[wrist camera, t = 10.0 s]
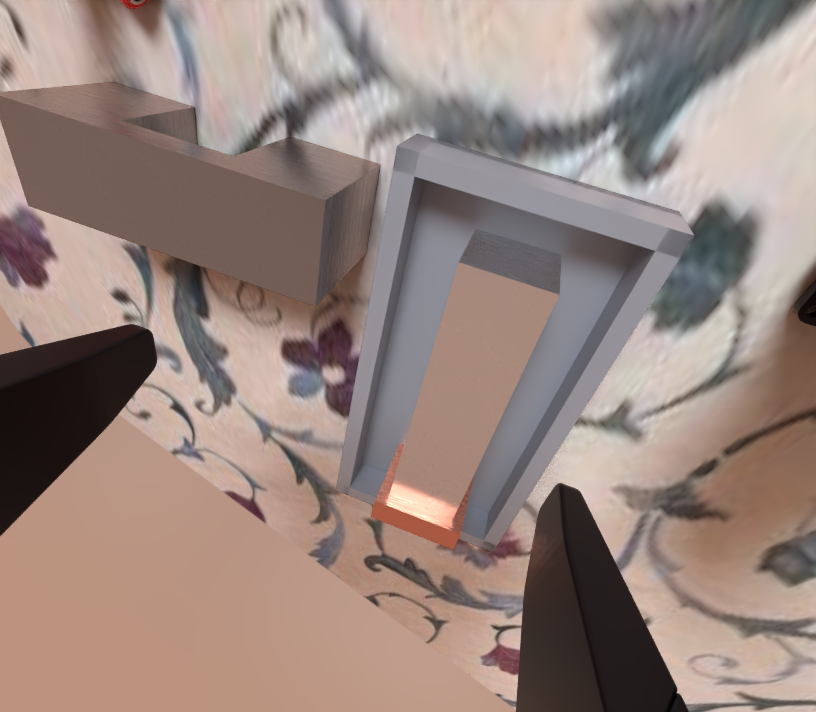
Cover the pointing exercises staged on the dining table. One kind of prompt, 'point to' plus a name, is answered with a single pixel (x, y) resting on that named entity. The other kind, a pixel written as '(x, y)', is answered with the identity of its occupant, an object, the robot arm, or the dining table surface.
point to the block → (191, 187)
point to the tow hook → (133, 3)
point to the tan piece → (468, 382)
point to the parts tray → (563, 332)
